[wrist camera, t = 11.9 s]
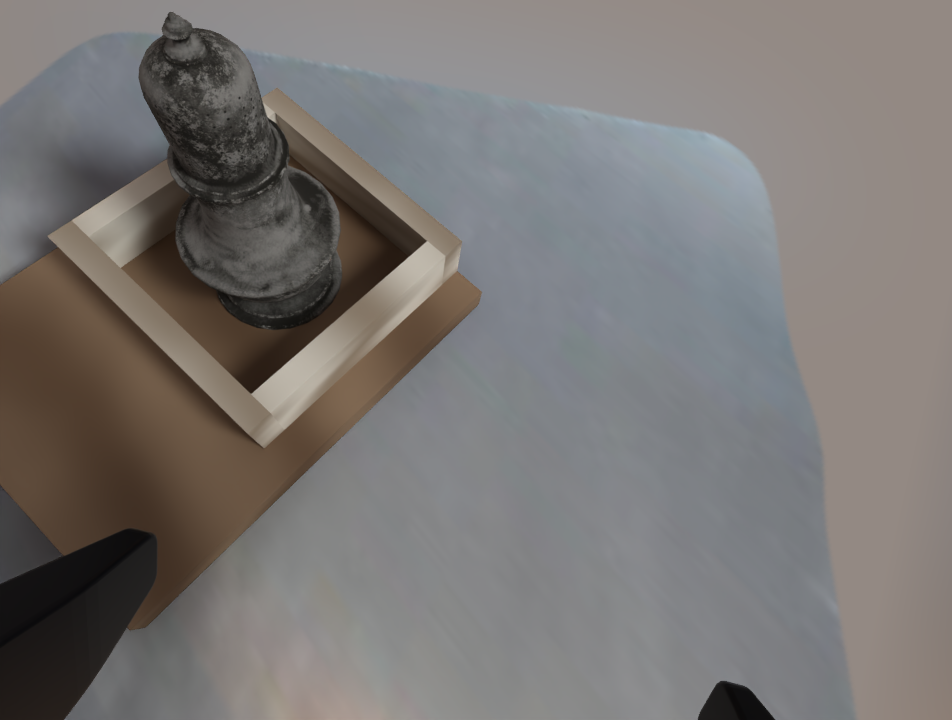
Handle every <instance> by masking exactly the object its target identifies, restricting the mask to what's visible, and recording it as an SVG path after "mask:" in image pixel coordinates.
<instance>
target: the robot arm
mask: <svg viewBox="0 0 952 720" xmlns="http://www.w3.org/2000/svg"><path fill="white" fill-rule="evenodd" d="M157 552H158V541H157V537H156V535H155V534H154V533H152V532H148V531H144V530H140V529H136V528H127V529H124V530H121V531H119V532H117V533H114V534H112V535H110V536H108V537H105V538H103V539H101V540H99V541H96V542H94V543H92V544H89V545H87V546H85V547H83V548H80V549H78V550H76V551H74V552H71V553H69V554H67V555H65V556H62V557H60V558H58V559H56V560H53V561H51V562H49V563H47V564H44V565H42V566H40V567H38V568H35V569H33V570H31V571H29V572H26V573H24V574H22V575H19V576H17V577H15V578H13V579H10V580H8V581H6V582H4V583H1V584H0V720H64V719H65V718H66V716H67V715H68V714H69V712H70V711H71V710H72V708H73V707H74V706H75V705H76V703H77V702H78V701H79V699H80V698H81V697H82V695H83V694H84V693H85V691H86V690H87V688H88V687H89V686H90V684H91V683H92V681H93V680H94V678H95V677H96V675H97V674H98V672H99V671H100V669H101V668H102V666H103V665H104V663H105V662H106V660H107V658H108V657H109V655H110V654H111V652H112V650H113V649H114V647H115V646H116V644H117V643H118V641H119V639H120V638H121V636H122V635H123V633H124V631H125V630H126V628H127V627H128V625H129V624H130V622H131V620H132V619H133V617H134V616H135V614H136V612H137V611H138V609H139V608H140V606H141V604H142V603H143V601H144V600H145V598H146V597H147V595H148V593H149V592H150V590H151V589H152V587H153V585H154V583H155V580H156V576H157ZM698 720H775V719H774V718H773V716H772V715H771V714H770V713H769V712H768V710H767V709H766V708H765V707H764V706H763V704H762V703H761V702H760V701H759V699H758V698H757V697H756V696H755V695H754V693H753V692H752V691H751V690H750V689H748V688H747V687H745V686H742V685H739V684H735V683H731V682H727V681H720V682H719V683H717V684H716V686H715V687H714V689H713V691H712V692H711V694H710V696H709V698H708V699H707V701H706V703H705V705H704V706H703V708H702V710H701V712H700V714H699V717H698Z"/></svg>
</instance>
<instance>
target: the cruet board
mask: <svg viewBox="0 0 952 720" xmlns="http://www.w3.org/2000/svg"><path fill="white" fill-rule="evenodd" d="M262 101H263V105H264V108H265V111H266V115H267V117H268V118H269V119H271V120H272V121H274V122H275V123H276V124H277V125H278V126H279V127H280V129H281V130H282V131H283V132H284V134H285V137H286V139H287V142H288V144H289V155H290V159H289V162H288V166H291V167H293V168H296V169H298V170H301V171H303V172H306V173H307V174H309V175H310V176H312V177H313V178H314V179H316V180H317V181H319V182H320V183H321V184H322V185H323V186H324V187H325V189H326V190H327V191H328V192H329V193H330V194H331V196H332V197H333V200H334V202H335V204H336V206H337V209H338V211H339V217H340V227H341V232H340V237H339V241H338V246H337V249H336V250H337V253H338V255H339V257H340V260H341V266H342V280H341V285H340V289H339V291H338V293H337V295H336V297H335V299H334V301H333V302H332V304H331V305H330V306H329V307H328V308H327V309H326V310H325V311H324V312H323V313H322V314H321V315H319V316H318V317H316V318H314V319H313V320H311V321H310V322H308V323H306V324H303V325H300V326H297V327H294V328H291V329H281V330H269V329H261V328H256V327H253V326H251V325H248V324H246V323H243V322H241V321H240V320H238V319H237V318H236V317H234V316H233V315H232V314H230V313H229V312H228V311H227V309H226V308H225V307H224V305H223V304H222V303H221V301H220V300H219V298H218V295H217V292H216V290H215V289H213V288H210V287H209V286H207V285H206V284H205V283H203V282H202V281H201V280H199V279H198V278H197V277H195V276H194V275H193V274H192V273H191V271H190V270H189V269H188V267H187V266H186V264H185V263H184V262H183V260H182V259H181V257H180V254H179V251H178V247H177V244H176V241H175V237H176V221H177V218H178V215H179V213H180V210H181V207H182V205H183V204H184V202H185V201H186V199H187V198H188V197H189V194H188V193H187V192H185V191H184V190H183V189H181V188H180V187H179V185H178V184H177V183H176V181H175V180H174V179H173V177H172V176H171V173H170V170H169V167H168V164H167V159H166V160H164V161H163V162H161V163H160V164H158V165H157V166H155V167H154V168H152V169H150V170H149V171H147V172H146V173H144V174H143V175H141V176H140V177H138V178H137V179H135V180H133V181H132V182H130V183H129V184H127V185H126V186H124V187H123V188H121V189H120V190H118V191H116V192H115V193H113V194H112V195H110V196H109V197H107V198H106V199H104V200H102V201H101V202H99V203H98V204H96V205H95V206H93V207H92V208H90V209H89V210H87V211H85V212H84V213H82V214H81V215H79V216H78V217H76V218H75V219H73V220H72V221H70V222H68V223H67V224H65V225H64V226H62V227H61V228H59V229H58V230H56V231H54V232H53V233H51V234H50V235H48V237H49V238H50V239H51V240H52V241H53V242H54V243H55V244H56V245H57V246H58V248H56V249H55V250H53V251H52V252H50V253H49V254H47V255H46V256H44V257H42V258H41V259H39V260H38V261H36V262H35V263H33V264H32V265H30V266H29V267H27V268H26V269H24V270H23V271H21V272H20V273H18V274H17V275H15V276H14V277H12V278H11V279H9V280H8V281H6V282H4V283H3V284H1V285H0V485H1V486H2V487H3V489H4V490H5V491H6V492H7V493H8V494H9V495H10V496H11V497H12V499H13V500H14V501H15V502H16V503H17V504H18V505H19V506H20V508H21V509H22V510H23V511H24V512H25V513H26V514H27V515H28V517H29V518H30V519H31V520H32V521H33V522H34V523H35V524H36V526H37V527H38V528H39V529H40V530H41V531H42V532H43V533H44V535H45V536H46V537H47V538H48V539H49V540H50V541H51V542H52V544H53V545H54V546H55V547H56V548H57V549H58V550H59V551H60V553H61V554H62V555H63V556H65V555H67V554H69V553H71V552H74V551H76V550H78V549H80V548H83V547H85V546H87V545H89V544H92V543H94V542H96V541H99V540H101V539H103V538H105V537H108V536H110V535H112V534H114V533H117V532H119V531H121V530H124V529H127V528H136V529H140V530H144V531H148V532H152V533H154V534H155V535H156V537H157V541H158V552H157V576H156V580H155V583H154V585H153V587H152V589H151V590H150V592H149V593H148V595H147V597H146V598H145V600H144V601H143V603H142V604H141V606H140V608H139V609H138V611H137V612H136V614H135V616H134V617H133V619H132V620H131V622H130V624H129V625H128V627H127V628H128V629H129V630H135V629H140V628H145V627H146V626H148V625H149V624H150V623H151V622H152V621H153V620H154V619H155V618H156V617H157V616H158V615H159V614H160V613H161V612H162V611H163V610H164V609H165V608H166V607H167V606H168V605H169V604H170V603H171V602H172V601H173V600H174V599H175V598H176V597H177V596H178V595H179V594H181V593H182V592H183V591H184V590H185V589H186V588H187V587H188V586H189V585H190V584H191V583H192V582H193V581H194V580H195V579H196V578H197V577H198V576H199V575H200V574H201V573H202V572H203V571H204V570H205V569H206V568H207V567H208V566H209V565H210V564H211V563H212V562H213V561H215V560H216V559H217V558H218V557H219V556H220V555H221V554H222V553H223V552H224V551H225V550H226V549H227V548H228V547H229V546H230V545H231V544H232V543H233V542H234V541H235V540H236V539H237V538H238V537H239V536H240V535H241V534H242V533H243V532H244V531H245V530H246V529H247V528H249V527H250V526H251V525H252V524H253V523H254V522H255V521H256V520H257V519H258V518H259V517H260V516H261V515H262V514H263V513H264V512H265V511H266V510H267V509H268V508H269V507H270V506H271V505H272V504H273V503H274V502H275V501H276V500H277V499H278V498H279V497H280V496H282V495H283V494H284V493H285V492H286V491H287V490H288V489H289V488H290V487H291V486H292V485H293V484H294V483H295V482H296V481H297V480H298V479H299V478H300V477H301V476H302V475H303V474H304V473H305V472H306V471H307V470H308V469H309V468H310V467H311V466H312V465H313V464H314V463H316V462H317V461H318V460H319V459H320V458H321V457H322V456H323V455H324V454H325V453H326V452H327V451H328V450H329V449H330V448H331V447H332V446H333V445H334V444H335V443H336V442H337V441H338V440H339V439H340V438H341V437H342V436H343V435H344V434H345V433H346V432H347V431H349V430H350V429H351V428H352V427H353V426H354V425H355V424H356V423H357V422H358V421H359V420H360V419H361V418H362V417H363V416H364V415H365V414H366V413H367V412H368V411H369V410H370V409H371V408H372V407H373V406H374V405H375V404H376V403H377V402H378V401H379V400H380V399H381V398H383V397H384V396H385V395H386V394H387V393H388V392H389V391H390V390H391V389H392V388H393V387H394V386H395V385H396V384H397V383H398V382H399V381H400V380H401V379H402V378H403V377H404V376H405V375H406V374H407V373H408V372H409V371H410V370H411V369H412V368H413V367H414V366H415V365H417V364H418V363H419V362H420V361H421V360H422V359H423V358H424V357H425V356H426V355H427V354H428V353H429V352H430V351H431V350H432V349H433V348H434V347H435V346H436V345H437V344H438V343H439V342H440V341H441V340H442V339H443V338H444V337H445V336H446V335H447V334H448V333H450V332H451V331H452V330H453V329H454V328H455V327H456V326H457V325H458V324H459V323H460V322H461V321H462V320H463V319H464V318H465V317H466V316H467V315H468V314H469V313H470V312H471V311H472V310H473V309H474V308H475V307H476V306H477V305H478V304H479V301H480V297H481V294H482V292H481V291H480V290H479V289H478V288H477V287H475V286H474V285H473V284H472V283H471V282H469V281H468V280H467V279H466V278H465V277H464V276H462V275H461V274H460V273H459V272H458V271H457V268H458V262H459V256H460V250H461V244H462V241H461V240H460V239H459V238H457V237H456V236H455V235H454V234H453V233H451V232H450V231H449V230H448V229H447V228H445V227H444V226H443V225H442V224H441V223H439V222H438V221H437V220H436V219H435V218H433V217H432V216H431V215H430V214H429V213H427V212H426V211H425V210H424V209H423V208H421V207H420V206H419V205H418V204H417V203H415V202H414V201H413V200H412V199H410V198H409V197H408V196H407V195H406V194H404V193H403V192H402V191H401V190H400V189H398V188H397V187H396V186H395V185H394V184H392V183H391V182H390V181H389V180H388V179H386V178H385V177H384V176H383V175H382V174H380V173H379V172H378V171H377V170H376V169H374V168H373V167H372V166H371V165H370V164H368V163H367V162H366V161H365V160H364V159H362V158H361V157H360V156H359V155H358V154H356V153H355V152H354V151H353V150H352V149H350V148H349V147H348V146H347V145H346V144H344V143H343V142H342V141H341V140H340V139H338V138H337V137H336V136H335V135H334V134H332V133H331V132H330V131H329V130H328V129H326V128H325V127H324V126H323V125H322V124H320V123H319V122H318V121H317V120H315V119H314V118H313V117H312V116H311V115H309V114H308V113H307V112H306V111H305V110H303V109H302V108H301V107H300V106H299V105H297V104H296V103H295V102H294V101H293V100H291V99H290V98H289V97H288V96H287V95H285V94H284V93H283V92H282V91H281V90H279V89H278V88H276V89H274V90H273V91H271V92H270V93H268V94H267V95H265V96H264V97H262Z"/></svg>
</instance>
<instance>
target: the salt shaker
mask: <svg viewBox="0 0 952 720" xmlns="http://www.w3.org/2000/svg"><path fill="white" fill-rule="evenodd" d="M162 32H163V36H162V37H160V38H159V39H157V40H156V41H154V42H153V43H152V44H151V46H150V47H149V48H148V49H147V50H146V52H145V55H144V57H143V59H142V62H141V64H140V67H139V81H140V86H141V89H142V92H143V96H144V99H145V100H146V102H147V104H148V106H149V108H150V109H151V111H152V113H153V115H154V117H155V119H156V120H157V122H158V124H159V126H160V128H161V130H162V131H163V133H164V135H165V137H166V139H167V141H168V142H169V144H170V146H169V149H168V158H167V164H168V167H169V170H170V173H171V176H172V177H173V179H174V180H175V181H176V183H177V184H178V185H179V187H180V188H181V189H183V190H184V191H185V192H187V193H188V194H189V197H188V198H187V199H186V201H185V202H184V204H183V205H182V207H181V210H180V213H179V215H178V218H177V221H176V237H175V241H176V244H177V247H178V251H179V254H180V257H181V259H182V260H183V262H184V263H185V264H186V266H187V267H188V269H189V270H190V271H191V273H192V274H193V275H194V276H195V277H197V278H198V279H199V280H201V281H202V282H203V283H205V284H206V285H207V286H209V287H210V288H213V289H215V290H216V292H217V295H218V298H219V300H220V301H221V303H222V304H223V305H224V307H225V308H226V309H227V311H228V312H229V313H230V314H232V315H233V316H234V317H236V318H237V319H238V320H240V321H241V322H243V323H246V324H248V325H251V326H253V327H256V328H261V329H269V330H281V329H291V328H294V327H297V326H300V325H303V324H306V323H308V322H310V321H311V320H313V319H314V318H316V317H318V316H319V315H321V314H322V313H323V312H324V311H325V310H326V309H327V308H328V307H329V306H330V305H331V304H332V302H333V301H334V299H335V297H336V295H337V293H338V291H339V289H340V285H341V280H342V266H341V260H340V257H339V255H338V253H337V250H336V249H337V246H338V241H339V237H340V232H341V227H340V217H339V211H338V209H337V206H336V204H335V202H334V200H333V197H332V196H331V194H330V193H329V192H328V191H327V190H326V189H325V187H324V186H323V185H322V184H321V183H320V182H319V181H317V180H316V179H314V178H313V177H312V176H310V175H309V174H307V173H306V172H303V171H301V170H298V169H296V168H293V167H291V166H288V162H289V159H290V155H289V144H288V142H287V139H286V137H285V134H284V132H283V131H282V130H281V129H280V127H279V126H278V125H277V124H276V123H275V122H274V121H272V120H271V119H269V118H268V117H267V115H266V111H265V108H264V105H263V101H262V98H261V95H260V91H259V88H258V85H257V81H256V78H255V75H254V72H253V69H252V67H251V64H250V62H249V60H248V59H247V57H246V55H245V54H244V53H243V51H242V50H241V49H240V48H239V47H238V46H237V45H236V44H234V43H233V42H231V41H230V40H228V39H227V38H225V37H224V36H222V35H221V34H218V33H216V32H213V31H210V30H205V29H199V28H192V25H191V23H189V22H188V21H187V20H184V19H183V18H182V17H180V16H179V15H176V14H175V13H173V12H169V14H168V17H167V18H166V19H165V23H164V25H163V27H162Z"/></svg>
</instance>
